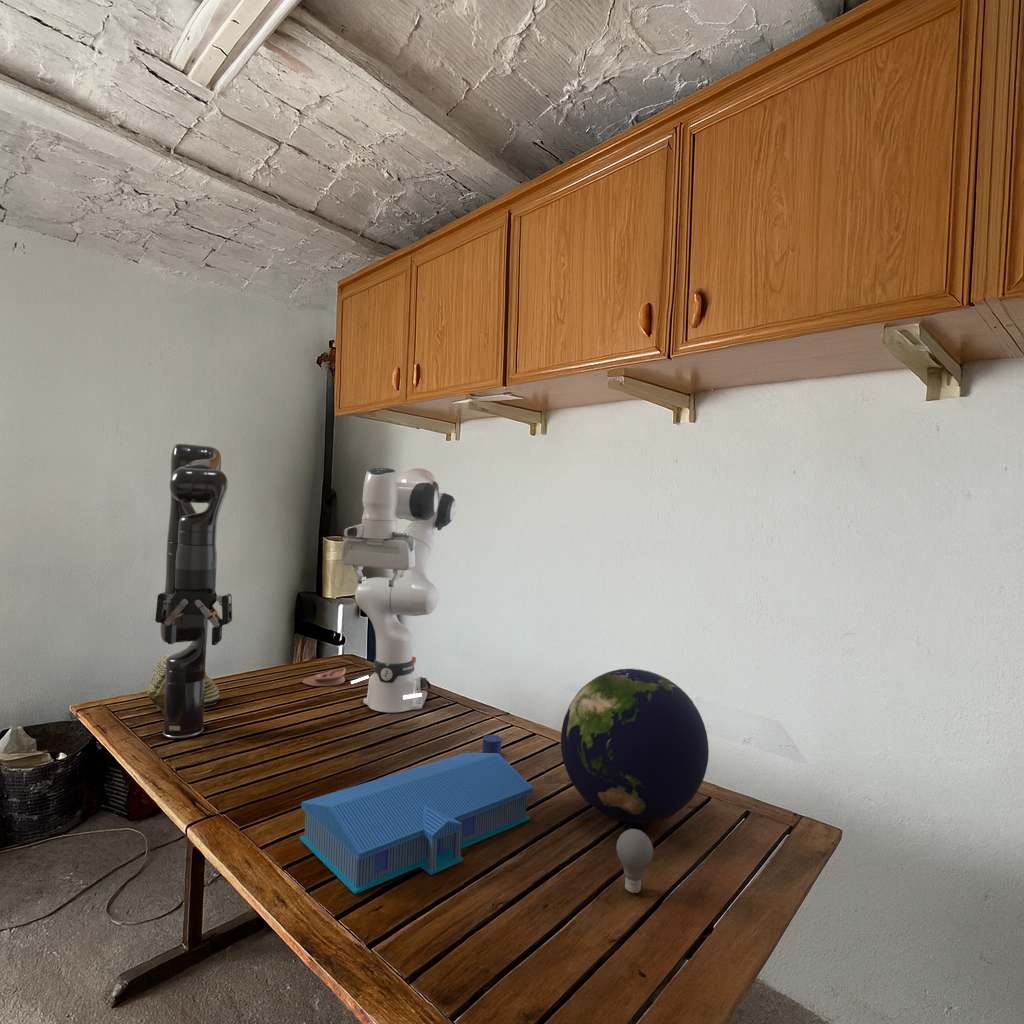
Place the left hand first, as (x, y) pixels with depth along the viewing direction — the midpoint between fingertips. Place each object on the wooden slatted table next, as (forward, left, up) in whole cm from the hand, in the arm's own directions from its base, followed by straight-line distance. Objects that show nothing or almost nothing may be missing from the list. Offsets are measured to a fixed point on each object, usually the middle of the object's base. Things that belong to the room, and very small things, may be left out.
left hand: (193, 643), depth 131 cm
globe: (+63, +67, -32) cm, 97 cm away
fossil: (-59, +16, -32) cm, 69 cm away
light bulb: (+79, +46, -32) cm, 97 cm away
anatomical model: (-58, +60, -32) cm, 89 cm away
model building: (+42, +30, -32) cm, 61 cm away
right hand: (-2, +44, +9) cm, 45 cm away
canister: (+23, +64, -32) cm, 75 cm away
